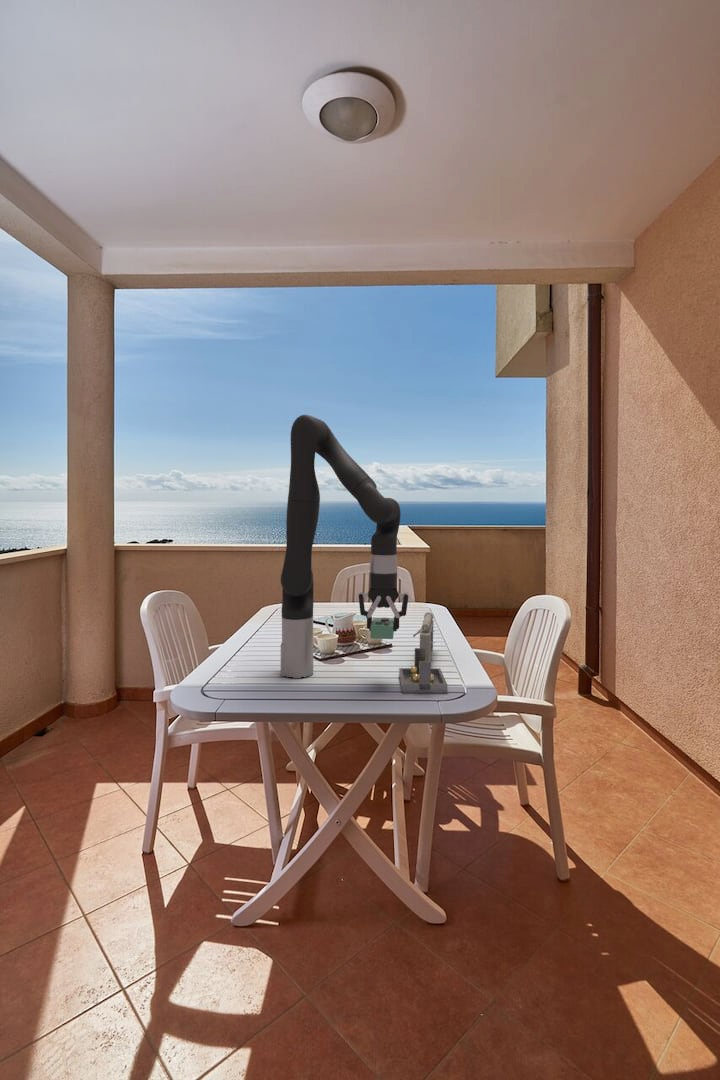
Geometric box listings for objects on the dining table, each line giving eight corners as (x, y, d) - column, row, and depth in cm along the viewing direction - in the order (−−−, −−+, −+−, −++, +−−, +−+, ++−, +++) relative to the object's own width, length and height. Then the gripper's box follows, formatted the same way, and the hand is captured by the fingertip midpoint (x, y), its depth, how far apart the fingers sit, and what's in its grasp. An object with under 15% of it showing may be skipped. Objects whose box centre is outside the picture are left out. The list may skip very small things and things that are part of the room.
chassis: (402, 693, 134) (402, 662, 134) (399, 676, 147) (399, 648, 147) (447, 693, 134) (447, 662, 134) (439, 676, 147) (440, 648, 146)
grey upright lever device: (433, 625, 152) (437, 608, 177) (412, 623, 153) (419, 607, 178) (432, 670, 153) (436, 647, 178) (411, 668, 154) (418, 645, 179)
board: (370, 638, 135) (370, 622, 134) (373, 629, 144) (373, 614, 144) (392, 639, 134) (393, 623, 134) (394, 630, 144) (394, 615, 143)
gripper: (357, 572, 134) (356, 633, 135) (411, 572, 134) (410, 634, 135) (357, 568, 142) (357, 627, 143) (408, 569, 141) (407, 627, 143)
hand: (382, 630), depth 139 cm, fingers closed on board, 6 cm apart
